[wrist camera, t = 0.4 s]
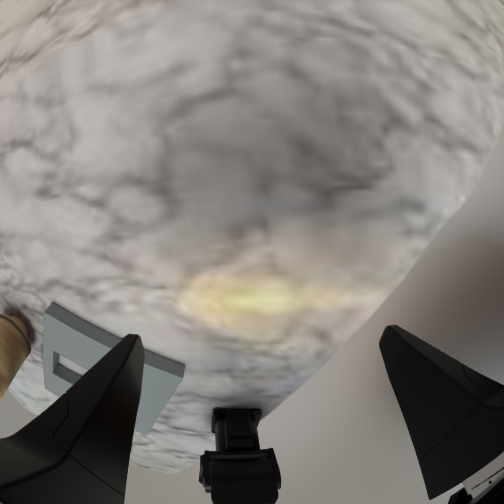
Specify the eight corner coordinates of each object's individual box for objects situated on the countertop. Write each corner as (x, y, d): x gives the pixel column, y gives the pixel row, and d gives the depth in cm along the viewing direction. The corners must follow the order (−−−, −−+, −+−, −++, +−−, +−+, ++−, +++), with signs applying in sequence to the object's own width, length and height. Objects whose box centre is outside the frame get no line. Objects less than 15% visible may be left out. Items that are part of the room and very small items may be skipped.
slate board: (184, 365, 27) (183, 378, 26) (148, 424, 32) (147, 434, 30) (52, 302, 23) (44, 311, 21) (49, 379, 27) (44, 388, 26)
